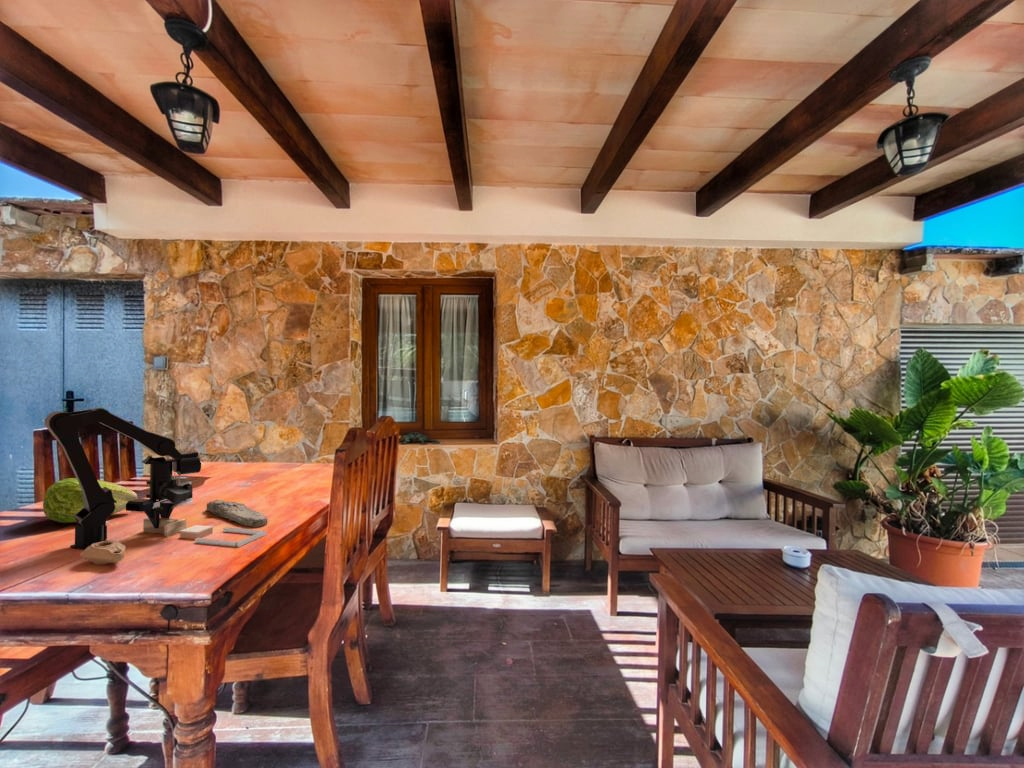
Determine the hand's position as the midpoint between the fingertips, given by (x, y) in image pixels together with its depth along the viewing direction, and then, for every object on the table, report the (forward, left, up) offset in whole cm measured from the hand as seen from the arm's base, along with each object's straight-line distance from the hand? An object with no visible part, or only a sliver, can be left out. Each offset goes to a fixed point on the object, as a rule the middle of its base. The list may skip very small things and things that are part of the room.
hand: (160, 527), depth 156 cm
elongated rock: (+21, -10, -2) cm, 23 cm away
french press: (+30, +23, -2) cm, 38 cm away
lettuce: (+6, +33, -2) cm, 34 cm away
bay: (0, -25, -2) cm, 25 cm away
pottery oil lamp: (-25, -9, -2) cm, 27 cm away
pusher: (0, 0, -1) cm, 2 cm away
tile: (0, -13, -2) cm, 13 cm away
